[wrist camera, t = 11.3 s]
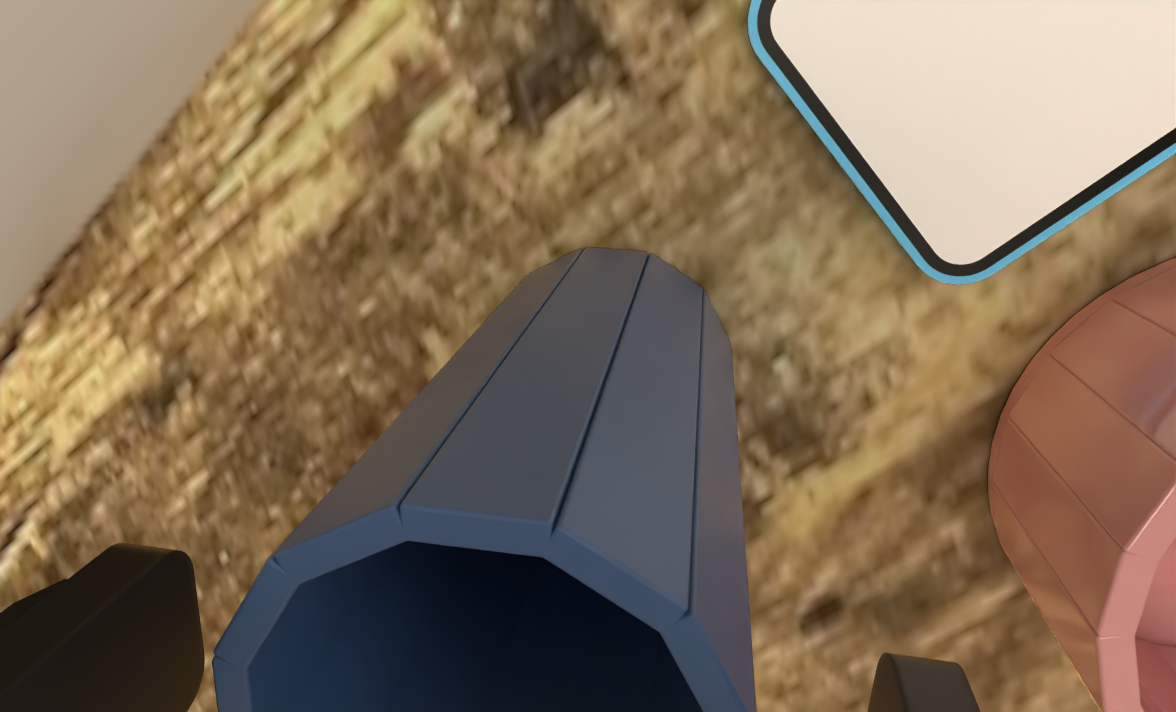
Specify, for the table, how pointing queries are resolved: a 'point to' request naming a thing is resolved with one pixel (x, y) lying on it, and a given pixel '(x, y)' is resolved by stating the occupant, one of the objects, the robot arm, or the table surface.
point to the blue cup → (527, 524)
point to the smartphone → (978, 111)
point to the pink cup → (1099, 491)
